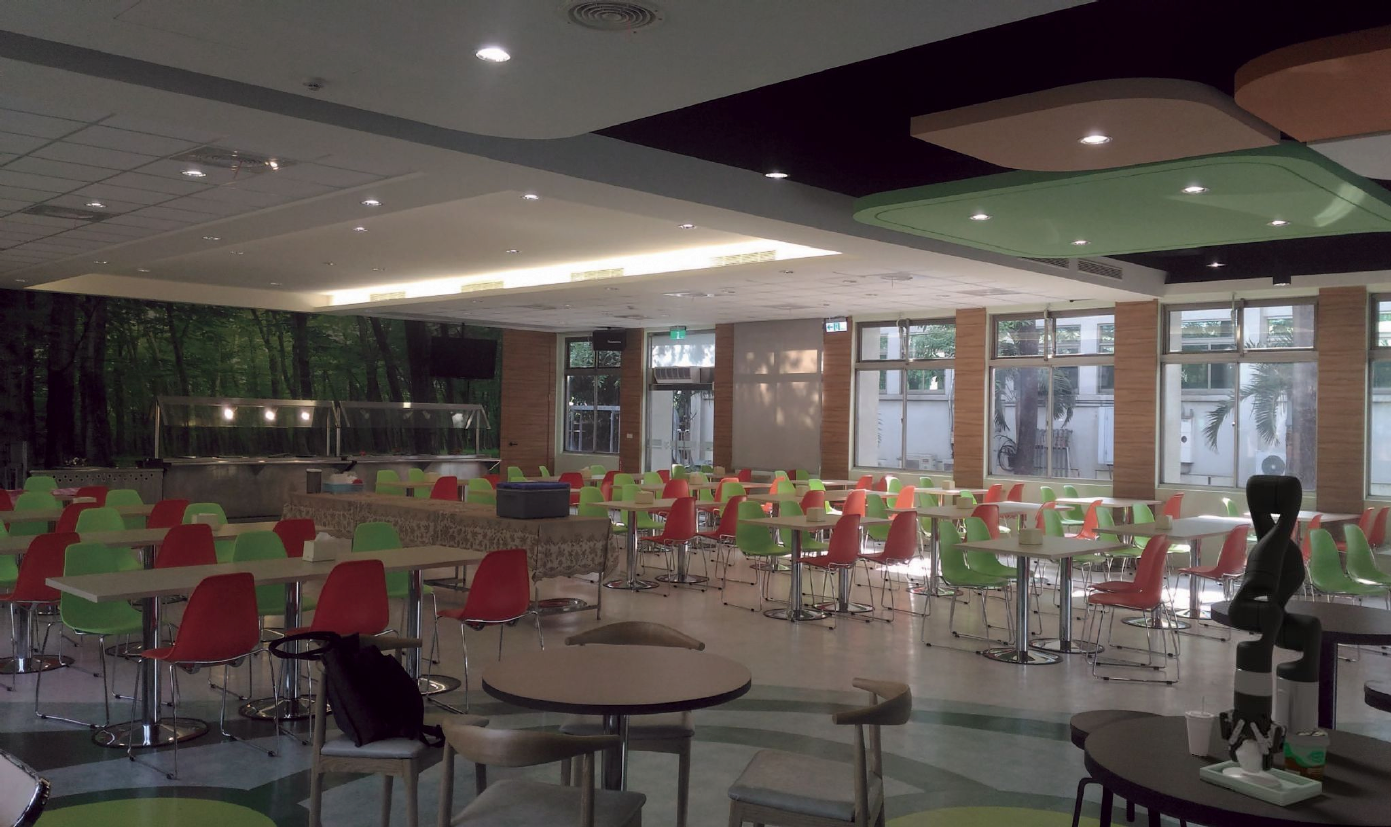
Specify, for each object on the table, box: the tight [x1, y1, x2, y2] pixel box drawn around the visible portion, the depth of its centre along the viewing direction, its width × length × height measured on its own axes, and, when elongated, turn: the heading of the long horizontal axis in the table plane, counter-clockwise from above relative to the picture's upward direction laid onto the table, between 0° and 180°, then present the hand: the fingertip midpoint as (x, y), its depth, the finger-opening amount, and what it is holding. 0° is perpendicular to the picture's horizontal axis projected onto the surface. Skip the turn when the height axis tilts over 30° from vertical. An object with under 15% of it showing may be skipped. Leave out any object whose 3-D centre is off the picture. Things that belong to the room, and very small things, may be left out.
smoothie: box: [1184, 695, 1215, 757], centre depth 244 cm, size 6×6×14 cm
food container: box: [1283, 727, 1331, 781], centre depth 230 cm, size 12×6×10 cm, turn 117°
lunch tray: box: [1199, 759, 1323, 807], centre depth 222 cm, size 16×18×2 cm
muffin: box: [1236, 739, 1264, 773], centre depth 224 cm, size 6×6×7 cm
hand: (1251, 765), depth 224 cm, fingers closed on muffin, 6 cm apart
